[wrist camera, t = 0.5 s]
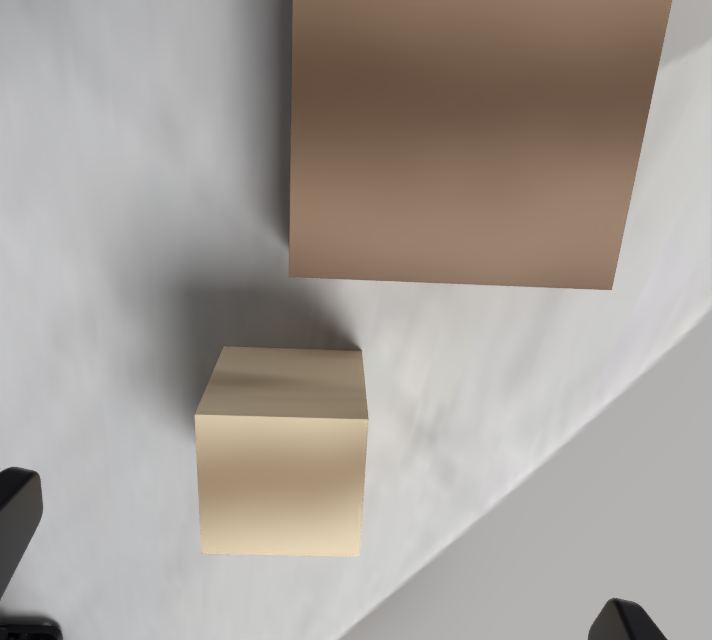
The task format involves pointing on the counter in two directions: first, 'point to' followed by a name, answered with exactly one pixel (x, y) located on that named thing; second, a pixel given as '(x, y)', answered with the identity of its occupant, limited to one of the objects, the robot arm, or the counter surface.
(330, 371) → the maple cube
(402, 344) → the counter surface
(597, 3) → the walnut block
